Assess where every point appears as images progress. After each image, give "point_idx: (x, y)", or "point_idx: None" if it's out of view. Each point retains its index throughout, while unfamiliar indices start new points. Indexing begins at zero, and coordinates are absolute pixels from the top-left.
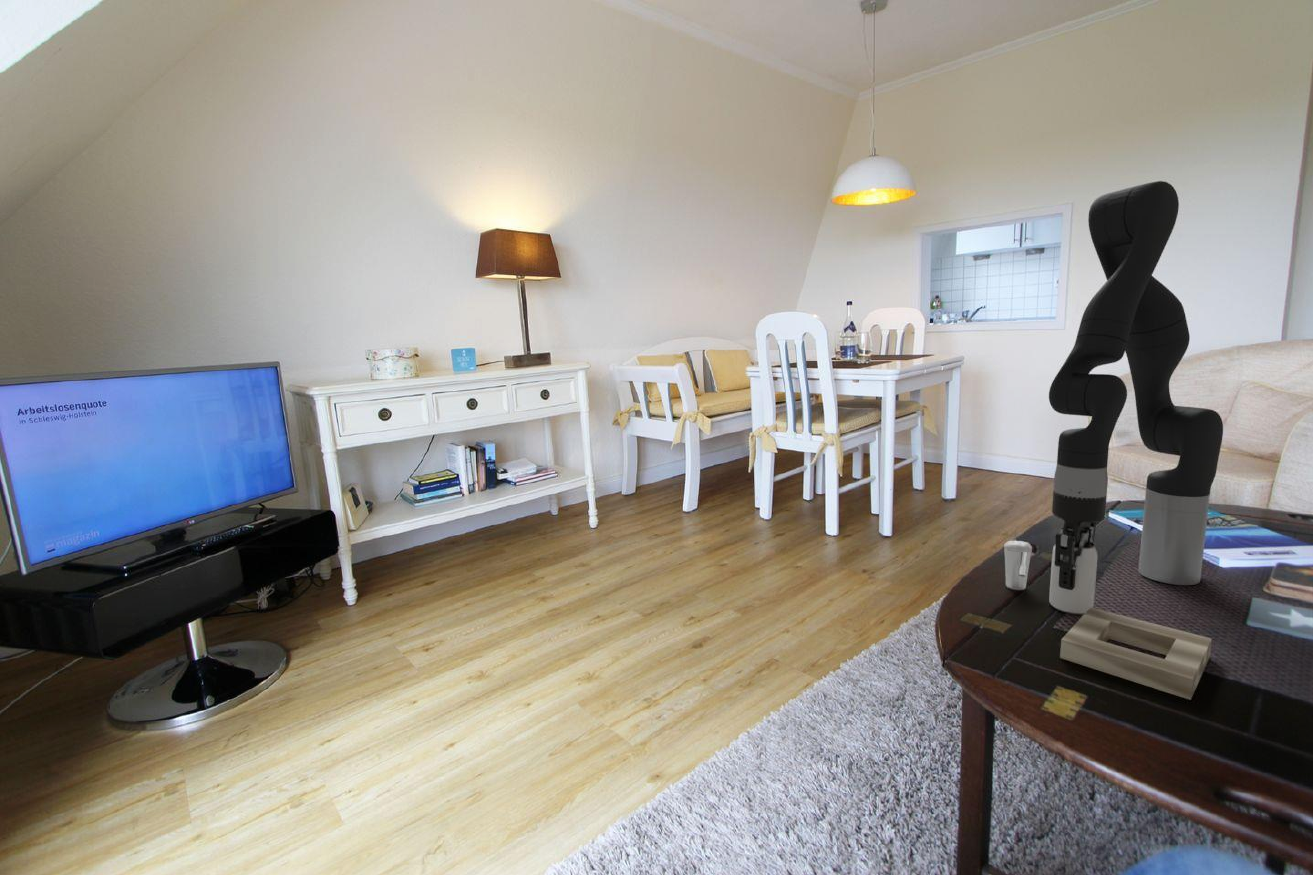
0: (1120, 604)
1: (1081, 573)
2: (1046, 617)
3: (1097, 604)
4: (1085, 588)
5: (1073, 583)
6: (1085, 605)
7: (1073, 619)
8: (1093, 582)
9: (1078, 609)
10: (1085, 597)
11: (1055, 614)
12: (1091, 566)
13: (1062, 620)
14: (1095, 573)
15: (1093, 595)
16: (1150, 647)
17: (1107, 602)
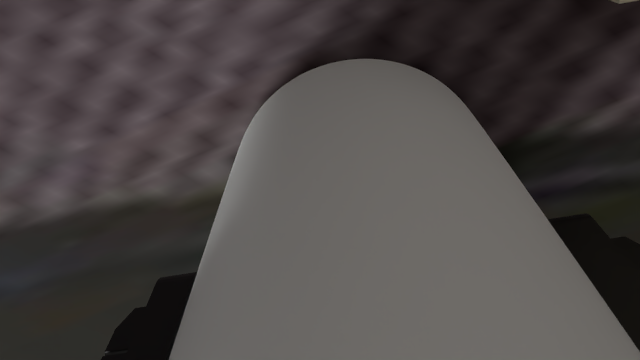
0: (22, 3)
1: (589, 288)
2: (628, 184)
3: (170, 97)
4: (487, 156)
5: (617, 247)
6: (434, 90)
7: (544, 78)
8: (393, 154)
9: (465, 106)
10: (456, 117)
11: (544, 174)
12: (529, 299)
13: (610, 111)
14: (368, 208)
15: (357, 97)
16: None
17: (76, 73)
